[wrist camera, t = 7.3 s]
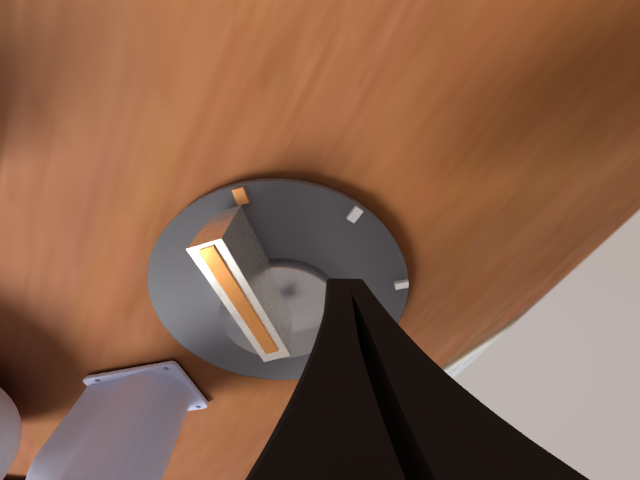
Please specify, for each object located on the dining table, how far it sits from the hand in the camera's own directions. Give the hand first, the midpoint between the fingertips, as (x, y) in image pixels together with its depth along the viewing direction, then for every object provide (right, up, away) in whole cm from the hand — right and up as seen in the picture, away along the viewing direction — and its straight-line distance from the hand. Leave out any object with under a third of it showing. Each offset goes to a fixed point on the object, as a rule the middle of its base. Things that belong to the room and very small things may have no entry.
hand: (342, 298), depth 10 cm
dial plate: (-4, -2, +11) cm, 12 cm away
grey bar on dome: (-4, -1, +9) cm, 11 cm away
